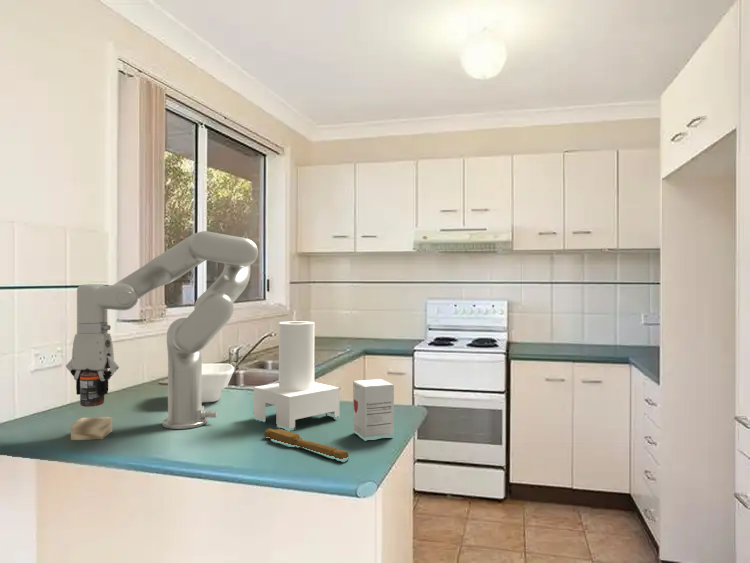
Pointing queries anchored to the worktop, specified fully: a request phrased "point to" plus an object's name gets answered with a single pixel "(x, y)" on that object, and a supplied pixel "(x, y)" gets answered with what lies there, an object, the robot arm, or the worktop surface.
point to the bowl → (215, 380)
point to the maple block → (91, 428)
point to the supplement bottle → (90, 389)
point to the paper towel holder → (296, 379)
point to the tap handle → (304, 443)
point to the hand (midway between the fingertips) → (92, 393)
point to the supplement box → (373, 407)
